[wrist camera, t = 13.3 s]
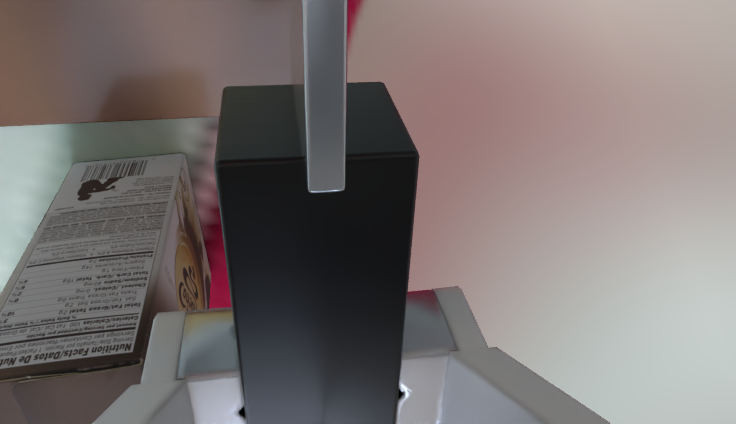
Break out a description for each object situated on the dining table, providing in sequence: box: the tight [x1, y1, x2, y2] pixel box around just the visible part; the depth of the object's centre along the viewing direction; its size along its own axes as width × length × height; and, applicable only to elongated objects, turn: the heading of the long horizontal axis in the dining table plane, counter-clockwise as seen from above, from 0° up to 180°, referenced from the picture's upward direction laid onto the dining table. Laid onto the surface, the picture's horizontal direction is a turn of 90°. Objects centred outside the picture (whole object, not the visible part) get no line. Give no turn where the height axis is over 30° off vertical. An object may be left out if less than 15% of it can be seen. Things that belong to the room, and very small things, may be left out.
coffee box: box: [0, 153, 211, 424], centre depth 28 cm, size 9×6×16 cm
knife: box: [214, 0, 419, 424], centre depth 8 cm, size 2×17×3 cm, turn 179°
